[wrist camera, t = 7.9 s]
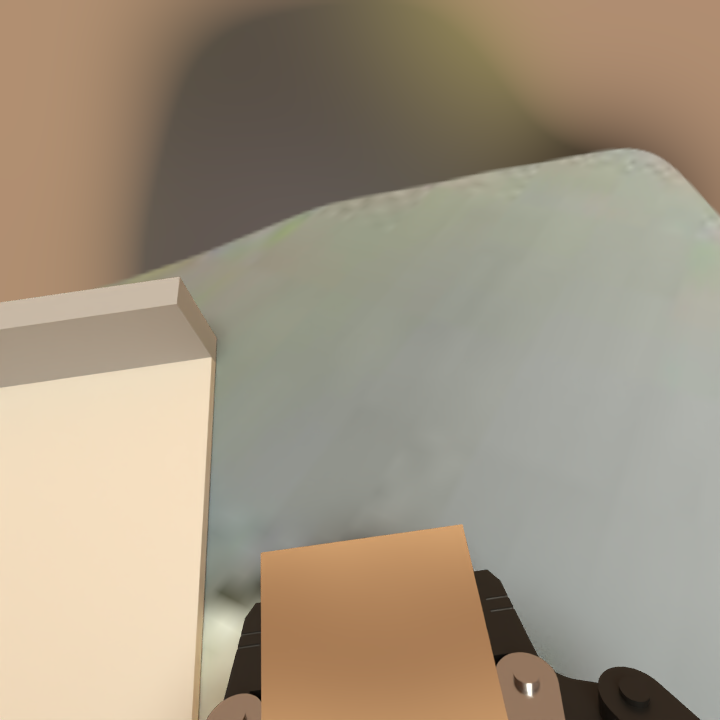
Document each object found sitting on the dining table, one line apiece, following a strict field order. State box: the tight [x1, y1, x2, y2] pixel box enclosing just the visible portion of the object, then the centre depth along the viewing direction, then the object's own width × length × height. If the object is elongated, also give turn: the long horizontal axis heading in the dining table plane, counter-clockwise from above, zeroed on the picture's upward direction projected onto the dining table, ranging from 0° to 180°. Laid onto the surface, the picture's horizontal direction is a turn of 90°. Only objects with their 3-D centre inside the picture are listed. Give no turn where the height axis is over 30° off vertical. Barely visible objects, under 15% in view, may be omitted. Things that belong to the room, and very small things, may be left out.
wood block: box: [261, 525, 508, 720], centre depth 12 cm, size 5×5×9 cm
